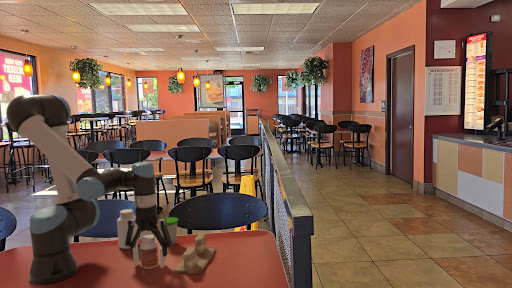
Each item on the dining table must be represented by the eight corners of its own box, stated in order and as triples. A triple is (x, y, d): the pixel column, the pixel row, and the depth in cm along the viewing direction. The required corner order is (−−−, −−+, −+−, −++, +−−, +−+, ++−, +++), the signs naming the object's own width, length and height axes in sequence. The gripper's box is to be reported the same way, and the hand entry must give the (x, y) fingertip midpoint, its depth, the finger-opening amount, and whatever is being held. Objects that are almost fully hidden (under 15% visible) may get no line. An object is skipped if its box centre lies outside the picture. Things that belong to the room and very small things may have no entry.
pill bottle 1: (142, 243, 164) (140, 209, 162) (127, 250, 157) (124, 215, 155) (130, 240, 168) (127, 207, 166) (114, 247, 161) (111, 212, 159)
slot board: (174, 273, 136) (172, 254, 135) (191, 250, 156) (190, 233, 155) (201, 274, 135) (200, 254, 134) (215, 250, 154) (214, 233, 153)
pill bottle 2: (161, 266, 142) (159, 237, 140) (144, 271, 138) (142, 241, 137) (155, 260, 147) (153, 232, 145) (139, 265, 143) (137, 236, 142)
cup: (174, 238, 169) (172, 205, 167) (183, 243, 163) (181, 209, 161) (157, 243, 164) (155, 209, 162) (166, 248, 158) (163, 213, 156)
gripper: (111, 207, 137) (116, 267, 140) (171, 208, 134) (175, 269, 137) (121, 201, 145) (126, 258, 148) (179, 202, 142) (182, 260, 145)
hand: (149, 264), depth 142 cm, fingers open, 10 cm apart
